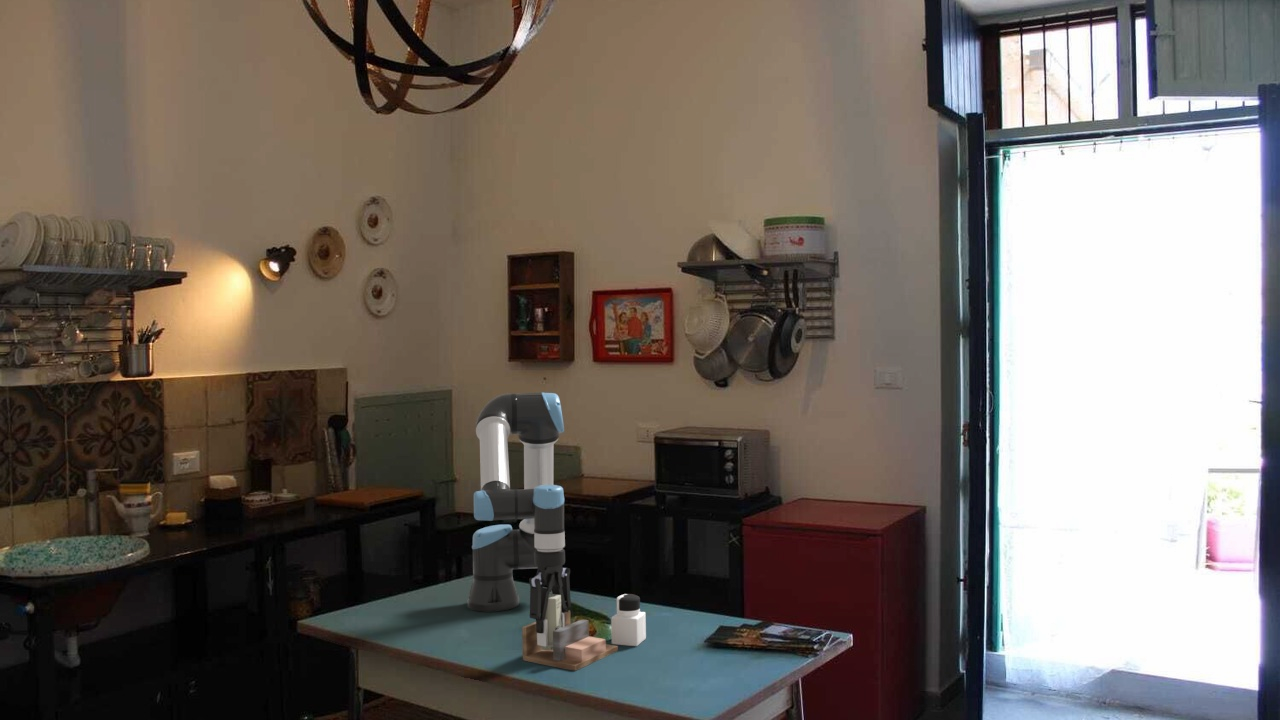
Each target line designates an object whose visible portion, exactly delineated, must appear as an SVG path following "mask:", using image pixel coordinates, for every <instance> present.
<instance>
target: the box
mask: <svg viewBox="0 0 1280 720" xmlns="http://www.w3.org/2000/svg"><path fill="white" fill-rule="evenodd" d="M545 619H547V621H548V646H547V647H545V646H541V650H553V631H554V630H557V629H559V628H562V610H561V595H558V594H552V593H549V598H548V604H547V610H546V616H545Z"/></svg>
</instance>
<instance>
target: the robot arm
mask: <svg viewBox="0 0 1280 720" xmlns="http://www.w3.org/2000/svg"><path fill="white" fill-rule="evenodd" d="M562 411H563V410H562V405H561V400H560V396H559V395H558V394H557V393H554V392H543V391H541V392H523V393H521V392H520V393H512V392H510V393H503V394H499V395H498V396H495V397H493V398H492V399H491V400H489V401H488V402H487V403H486V404H485V405H484V406H483V408H481V411H480V412H479V414H478V416H477V418H476V422H475V434H476V437H477V438H478V440H479V459H480V461H479V466H480V471H479V472H480V490H478V491H477V490H476V491H475V492H474V493H473V517H474V519H475V520H477V521H490V522H491V521H507V520H521V521H520V523H519V525H518V527H519V529H513V527H512V525H511V524H495V525H489V526H485V527H483V528H480V529H477V530H476V531H475V532H474V533H473V535H472V545H471V549H472V578H473V580H472V582H471V587H470V590H469V596H468V597H467V608H468V609H469V610H472V611H476V612H488V613H489V612H490V613H491V612H502V611H507V610H511V609H514V608H517V607H519V606H520V605H519V604H520V596H519V593H517V588H516V584H515V581H514V577H513V575H514V573H513V570H527V569H528V570H529V569H537V571H536V575H535V576H534V577H529V579H528V582H529V587H530V590H529V593H530V594H529V618H530V619H533V620H535V622H536V632H537V645H540V646H545V647H547V646H548V621H547V619H545V616H546V610H547V604H548V598H549V594H558V595H561V610H562V627H564V626H565V612H569V611H570V608H571V605H572V601H571V599H572V598H571V585H570V577H571V576H570V575H571V568H568V567H563V565H565V563H566V550H565V549H564V548H565V547H566V539H565V537H566V535H565V533H566V532H565V531H566V530H565V496H564V493H565V492H564V488H563V486H561V485H557V484H554V448H555V447H554V446H555V445H554V444H556V442H558V440H559V438H560V436H559V435H560V434H562V433H564V432H565V426H564V425H565V424H564V419H563V418H564V417H563V413H562ZM510 435H518V440H519V442H521V443H522V444H523V485H524V487H523V488H524V489H523V488H522V489H511V482H510V481H511V480H510V479H511V478H510V467H509V466H510V465H509V464H510V462H509V447H508V446H509V445H508V438H509V437H510Z"/></svg>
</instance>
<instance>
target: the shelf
mask: <svg viewBox="0 0 1280 720" xmlns="http://www.w3.org/2000/svg"><path fill="white" fill-rule="evenodd" d="M589 622H590V621H589V620H587V619H584V618H583V619H580V620H579V619H578V620H576V621H575V622H571V610H569V612H565V626H564V627H562V628H559V629H557V630H554V631H553V650H541V646H540V645H537V632H536V621H534V622H532V623H529V624H526V625H524V626H522V628H521V630H522V631H521V633H522V637H521V638H522V661H525V662H530V663H534V664H540V665H543V666H550V667H553V668H558V669H559V668H560V669H565V670H569V671H575V672H576V671H578V670H581V669H583V668H584V667H586V666H588V665H591V664H593V663H595V662H598V661H599V660H601V659H605V658H606V657H608V656H610V655H613V654H614V653H617V652H618V651H619V645H615V644H610V643H609V644H607V642H606V641H607V640H606V638H601V637H595V636H590V624H589Z"/></svg>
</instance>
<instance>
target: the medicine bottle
mask: <svg viewBox="0 0 1280 720" xmlns="http://www.w3.org/2000/svg"><path fill="white" fill-rule="evenodd" d="M646 617H647V616H646V611H641V598H640V596H638V595H636V594H632V593H624V594H621V595H619V596H617V597H616V612H615V614H614V615H613V616H611V618H610V620H611V622H610V623H611V625H610V626H611V629H610V631H611V634H610V635H611V645H615V646H630V647H639V645H641V643H643V642H644V641H645V640H646V639H647V623H646V622H647V620H646V619H647V618H646Z"/></svg>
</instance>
